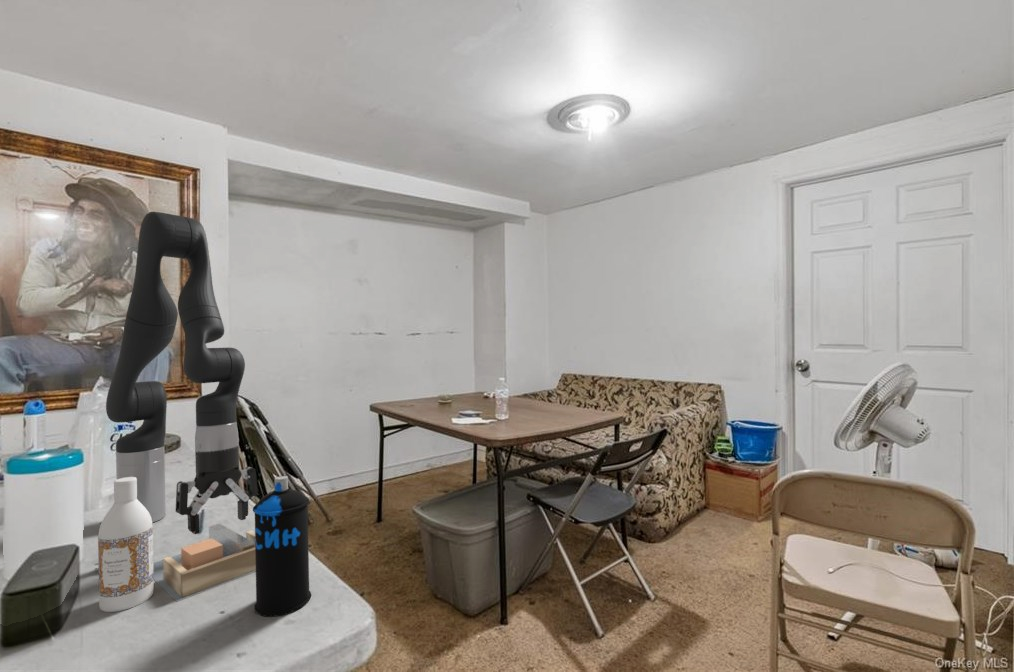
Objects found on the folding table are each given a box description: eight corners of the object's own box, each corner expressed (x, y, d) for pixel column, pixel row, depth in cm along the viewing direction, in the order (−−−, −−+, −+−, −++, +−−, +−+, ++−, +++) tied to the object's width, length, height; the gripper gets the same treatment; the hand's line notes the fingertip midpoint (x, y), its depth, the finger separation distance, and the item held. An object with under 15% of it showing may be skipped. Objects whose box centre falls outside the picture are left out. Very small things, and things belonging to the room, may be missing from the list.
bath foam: (88, 617, 73) (86, 487, 73) (115, 593, 80) (113, 475, 80) (140, 610, 74) (138, 483, 75) (161, 587, 81) (159, 471, 81)
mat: (140, 567, 89) (140, 566, 89) (237, 537, 102) (237, 536, 102) (177, 602, 76) (177, 601, 76) (281, 562, 90) (281, 561, 90)
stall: (163, 580, 84) (162, 558, 84) (251, 550, 95) (251, 530, 95) (183, 599, 77) (182, 574, 77) (275, 563, 89) (274, 542, 89)
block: (181, 575, 85) (181, 547, 85) (212, 564, 89) (211, 538, 89) (191, 584, 82) (191, 555, 82) (223, 572, 86) (222, 544, 86)
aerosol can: (271, 588, 80) (269, 470, 80) (319, 588, 80) (317, 470, 80) (243, 617, 72) (240, 485, 72) (296, 617, 71) (293, 485, 72)
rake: (162, 563, 90) (162, 540, 90) (219, 544, 98) (219, 523, 98) (193, 589, 80) (192, 563, 80) (254, 566, 88) (253, 542, 88)
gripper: (246, 437, 104) (248, 511, 103) (169, 450, 92) (171, 533, 92) (261, 441, 99) (263, 518, 99) (183, 455, 88) (185, 542, 87)
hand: (219, 525), depth 95 cm, fingers open, 8 cm apart
